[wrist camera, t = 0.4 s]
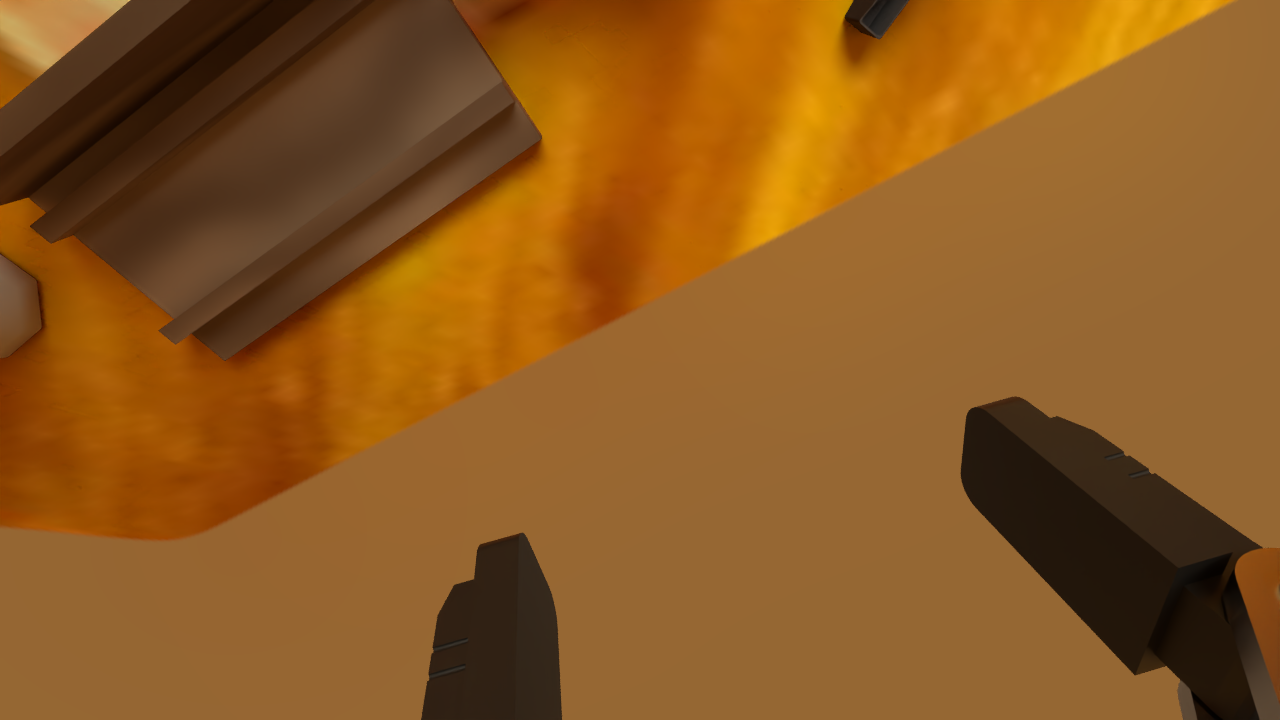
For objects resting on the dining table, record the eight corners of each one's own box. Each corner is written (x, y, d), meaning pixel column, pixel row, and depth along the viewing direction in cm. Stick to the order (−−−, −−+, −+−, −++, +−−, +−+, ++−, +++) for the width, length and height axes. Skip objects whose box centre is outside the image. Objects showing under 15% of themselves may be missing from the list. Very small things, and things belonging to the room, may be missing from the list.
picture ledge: (31, 173, 29) (-120, 209, 22) (379, -108, 26) (324, -163, 19) (236, 349, 34) (165, 419, 28) (541, 134, 31) (542, 157, 25)
